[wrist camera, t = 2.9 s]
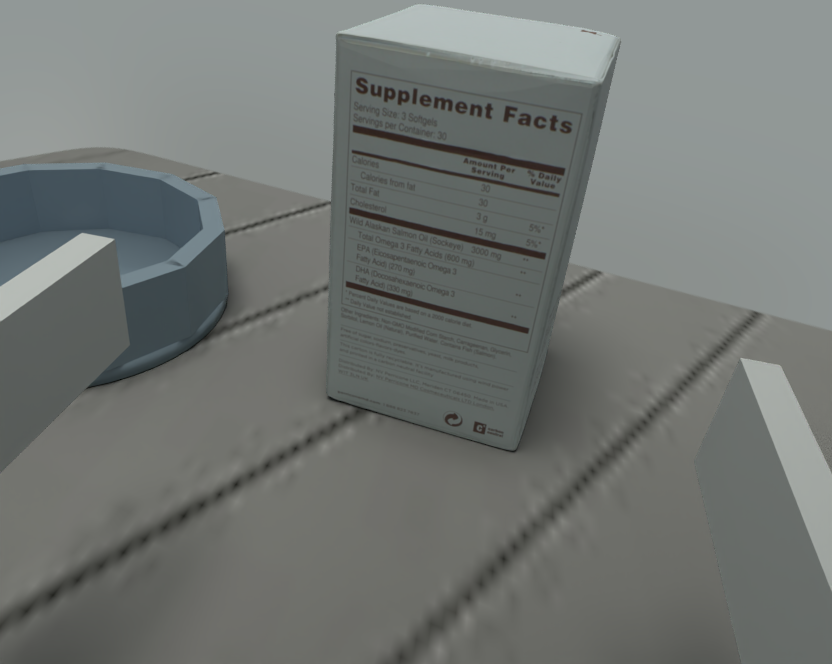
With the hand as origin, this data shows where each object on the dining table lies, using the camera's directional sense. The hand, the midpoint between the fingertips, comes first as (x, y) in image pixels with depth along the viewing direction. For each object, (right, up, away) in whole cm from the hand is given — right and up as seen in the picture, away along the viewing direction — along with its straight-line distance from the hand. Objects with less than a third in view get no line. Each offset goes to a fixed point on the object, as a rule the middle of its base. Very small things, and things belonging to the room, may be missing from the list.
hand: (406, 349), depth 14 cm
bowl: (-14, +2, +14) cm, 20 cm away
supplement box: (+1, -1, +13) cm, 13 cm away
